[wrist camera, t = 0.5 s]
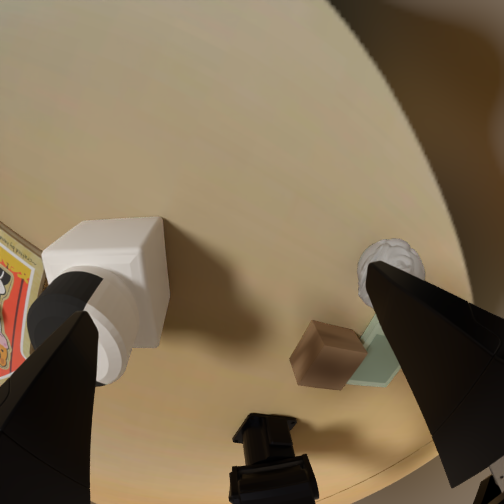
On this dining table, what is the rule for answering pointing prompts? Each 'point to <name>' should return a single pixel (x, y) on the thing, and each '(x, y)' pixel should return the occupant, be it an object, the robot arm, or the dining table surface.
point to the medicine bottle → (106, 287)
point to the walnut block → (327, 356)
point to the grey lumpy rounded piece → (388, 261)
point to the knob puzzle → (17, 297)
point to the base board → (375, 359)
